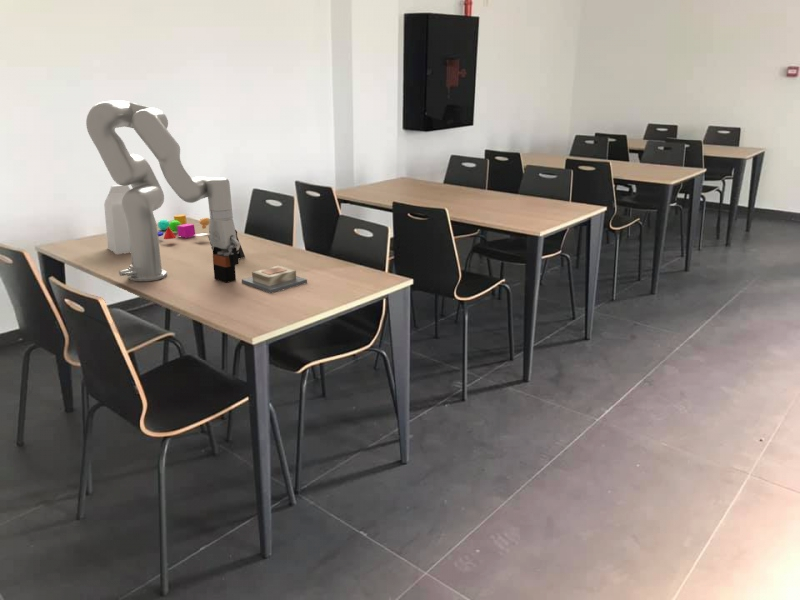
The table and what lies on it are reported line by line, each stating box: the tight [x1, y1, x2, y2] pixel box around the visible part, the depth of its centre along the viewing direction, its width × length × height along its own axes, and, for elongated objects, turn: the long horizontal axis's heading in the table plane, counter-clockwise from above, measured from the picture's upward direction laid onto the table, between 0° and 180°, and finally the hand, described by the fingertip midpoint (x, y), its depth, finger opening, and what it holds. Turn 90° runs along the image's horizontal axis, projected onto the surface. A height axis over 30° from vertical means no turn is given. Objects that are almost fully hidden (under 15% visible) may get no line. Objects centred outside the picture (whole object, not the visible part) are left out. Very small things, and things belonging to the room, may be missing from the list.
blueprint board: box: [241, 275, 308, 294], centre depth 221 cm, size 16×16×1 cm
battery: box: [212, 251, 237, 283], centre depth 221 cm, size 4×7×10 cm, turn 56°
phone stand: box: [221, 229, 246, 260], centre depth 247 cm, size 9×6×12 cm, turn 140°
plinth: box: [251, 264, 297, 286], centre depth 220 cm, size 12×9×3 cm
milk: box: [103, 184, 131, 255], centre depth 253 cm, size 12×12×26 cm
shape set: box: [157, 214, 210, 240], centre depth 279 cm, size 29×35×7 cm
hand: (226, 262), depth 220 cm, fingers open, 9 cm apart
